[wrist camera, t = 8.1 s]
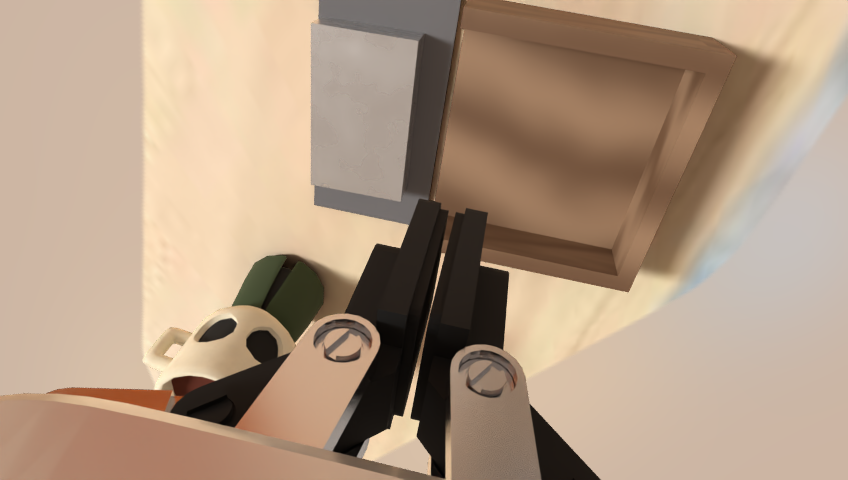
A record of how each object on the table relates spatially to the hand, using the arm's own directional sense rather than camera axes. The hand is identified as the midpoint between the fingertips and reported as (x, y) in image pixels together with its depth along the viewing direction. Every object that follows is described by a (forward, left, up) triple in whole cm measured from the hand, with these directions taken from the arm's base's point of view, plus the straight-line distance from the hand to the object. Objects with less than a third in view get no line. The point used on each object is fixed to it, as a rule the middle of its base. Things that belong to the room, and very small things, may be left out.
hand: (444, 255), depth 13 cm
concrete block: (+5, -7, -21) cm, 22 cm away
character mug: (+20, -12, -21) cm, 32 cm away
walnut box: (+4, +5, -21) cm, 22 cm away
